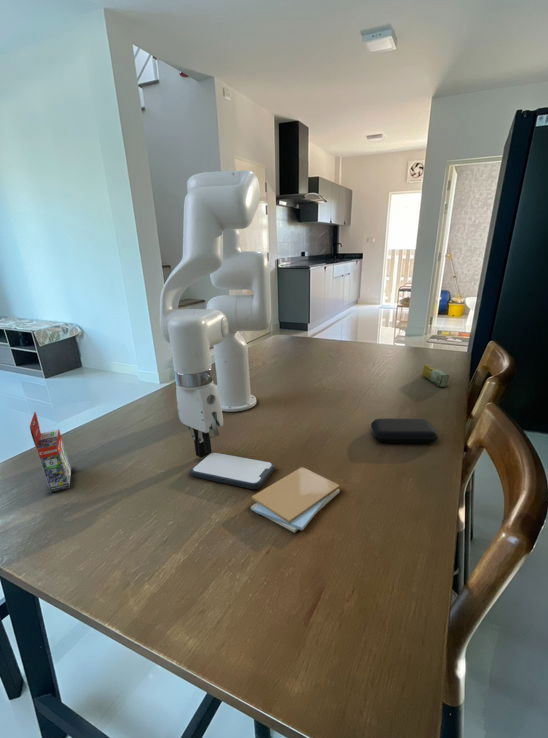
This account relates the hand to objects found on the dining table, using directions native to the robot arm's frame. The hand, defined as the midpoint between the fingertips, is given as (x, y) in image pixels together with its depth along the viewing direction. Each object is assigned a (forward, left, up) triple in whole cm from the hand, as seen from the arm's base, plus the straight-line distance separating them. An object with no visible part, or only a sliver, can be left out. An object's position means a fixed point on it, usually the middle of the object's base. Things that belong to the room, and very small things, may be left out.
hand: (203, 454), depth 86 cm
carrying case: (+31, +36, -1) cm, 48 cm away
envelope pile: (+26, 0, -1) cm, 26 cm away
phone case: (+10, -1, -1) cm, 10 cm away
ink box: (-17, -24, -1) cm, 29 cm away
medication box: (+24, +79, -1) cm, 82 cm away
